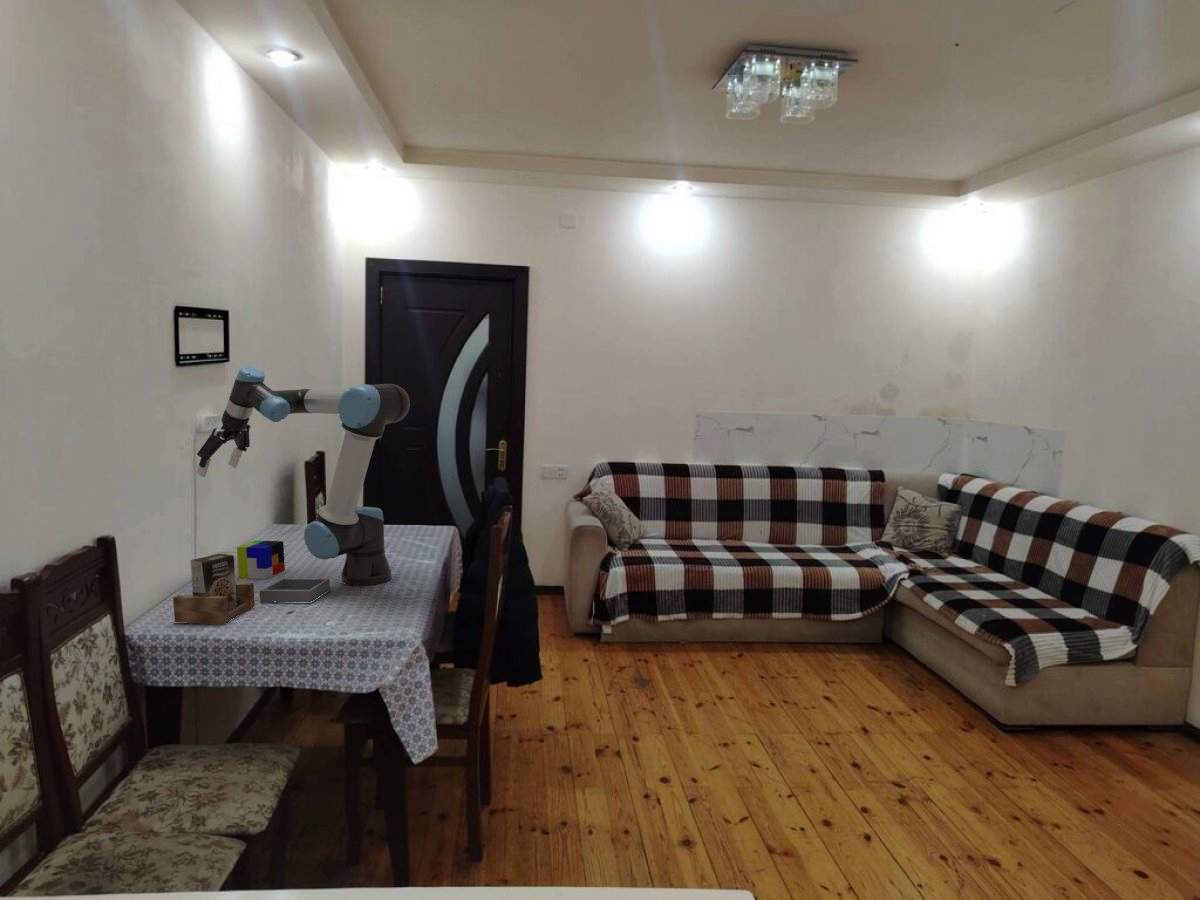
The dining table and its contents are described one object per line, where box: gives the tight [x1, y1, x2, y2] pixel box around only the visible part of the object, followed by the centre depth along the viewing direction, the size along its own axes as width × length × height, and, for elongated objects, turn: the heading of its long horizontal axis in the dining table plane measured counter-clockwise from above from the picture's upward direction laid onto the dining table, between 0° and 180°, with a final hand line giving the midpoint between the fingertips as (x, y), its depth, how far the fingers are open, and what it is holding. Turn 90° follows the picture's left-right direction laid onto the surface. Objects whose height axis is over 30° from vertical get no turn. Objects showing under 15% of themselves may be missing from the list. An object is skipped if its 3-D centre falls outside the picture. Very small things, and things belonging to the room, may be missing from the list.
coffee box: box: [190, 553, 237, 611], centre depth 220 cm, size 9×6×16 cm
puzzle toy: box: [236, 539, 286, 580], centre depth 263 cm, size 10×10×10 cm
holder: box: [172, 582, 256, 625], centre depth 220 cm, size 14×15×7 cm
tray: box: [259, 577, 331, 603], centre depth 237 cm, size 15×13×4 cm
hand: (216, 470), depth 259 cm, fingers open, 13 cm apart
